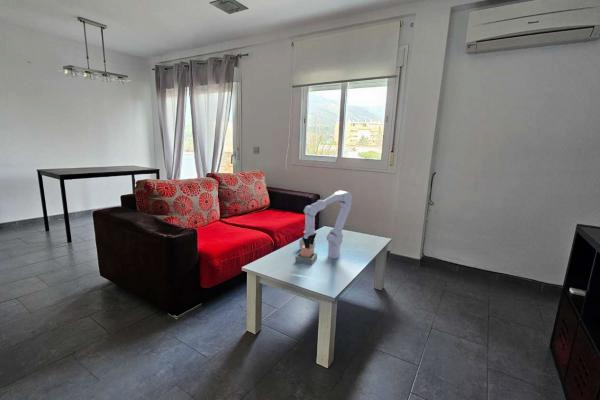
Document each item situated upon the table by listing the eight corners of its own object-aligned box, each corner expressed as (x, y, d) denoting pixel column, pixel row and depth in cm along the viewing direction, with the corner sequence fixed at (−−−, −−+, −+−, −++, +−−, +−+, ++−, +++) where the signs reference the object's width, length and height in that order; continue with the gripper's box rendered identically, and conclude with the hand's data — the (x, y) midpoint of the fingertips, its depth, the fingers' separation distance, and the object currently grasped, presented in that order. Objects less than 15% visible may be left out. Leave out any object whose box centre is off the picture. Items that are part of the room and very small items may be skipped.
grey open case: (311, 254, 187) (312, 243, 186) (296, 252, 191) (296, 241, 189) (317, 247, 200) (317, 237, 199) (303, 245, 204) (303, 235, 202)
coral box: (303, 252, 178) (303, 244, 177) (312, 253, 176) (312, 246, 175) (301, 254, 174) (301, 247, 173) (310, 256, 172) (310, 248, 171)
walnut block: (303, 257, 180) (303, 252, 179) (312, 259, 177) (312, 253, 177) (300, 261, 174) (300, 255, 173) (309, 263, 172) (309, 256, 171)
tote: (301, 257, 183) (301, 250, 182) (316, 259, 179) (317, 253, 178) (295, 263, 173) (295, 256, 172) (311, 266, 169) (311, 259, 168)
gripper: (307, 221, 179) (307, 241, 182) (299, 227, 166) (298, 249, 168) (318, 222, 176) (317, 243, 179) (310, 228, 163) (310, 250, 166)
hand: (309, 246), depth 173 cm, fingers open, 7 cm apart
